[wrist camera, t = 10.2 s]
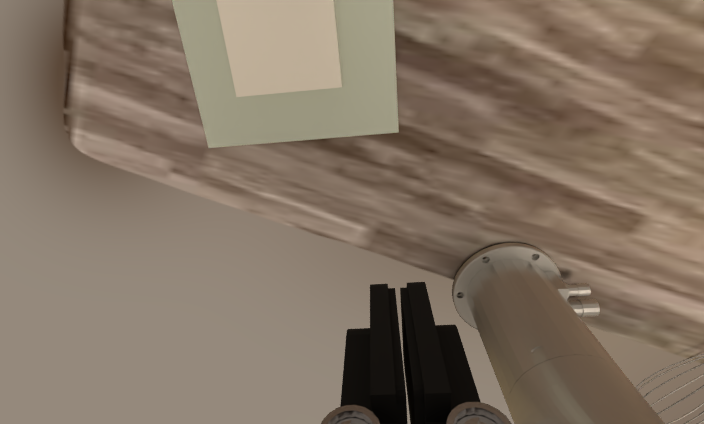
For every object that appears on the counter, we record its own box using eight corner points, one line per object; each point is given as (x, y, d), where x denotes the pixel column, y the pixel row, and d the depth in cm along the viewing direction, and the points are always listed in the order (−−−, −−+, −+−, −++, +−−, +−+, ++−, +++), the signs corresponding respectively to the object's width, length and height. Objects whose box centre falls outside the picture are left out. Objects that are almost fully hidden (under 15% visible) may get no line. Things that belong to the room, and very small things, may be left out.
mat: (387, -115, 30) (388, -118, 29) (398, 131, 38) (398, 132, 37) (154, -83, 32) (150, -85, 31) (210, 146, 39) (208, 148, 39)
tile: (329, -42, 30) (210, -28, 31) (341, 87, 34) (236, 97, 35) (331, -36, 32) (219, -23, 33) (343, 85, 36) (243, 94, 37)
